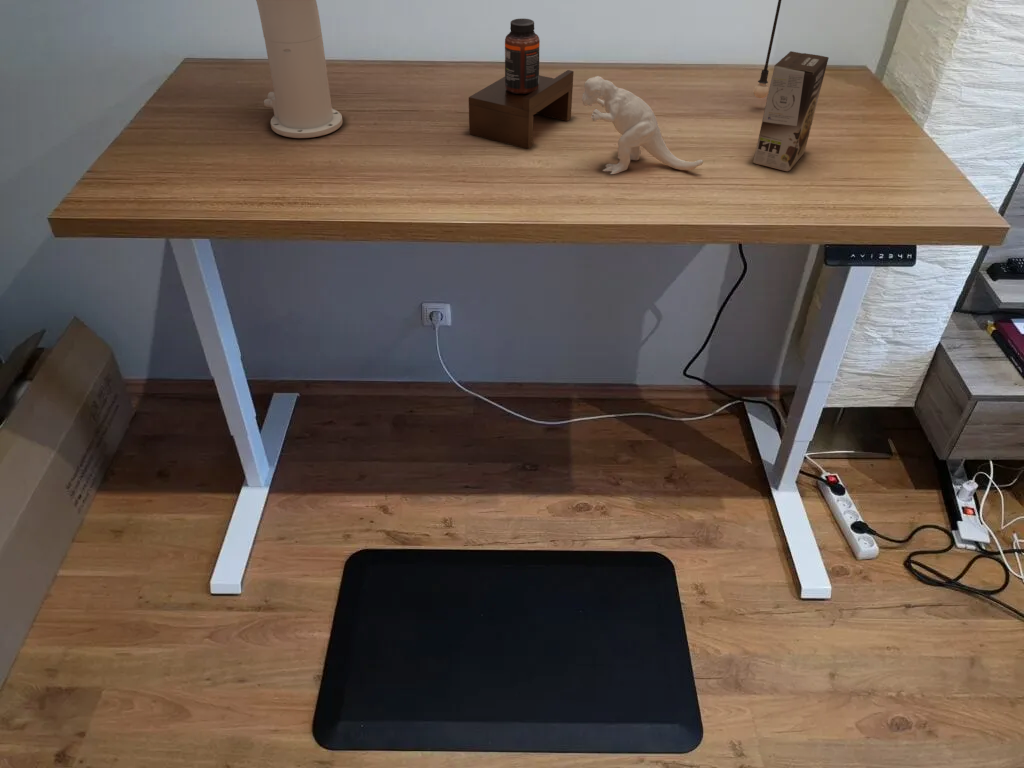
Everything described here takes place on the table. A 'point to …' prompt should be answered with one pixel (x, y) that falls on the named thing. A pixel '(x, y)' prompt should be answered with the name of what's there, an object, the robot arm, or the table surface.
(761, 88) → the light fixture
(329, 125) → the robot arm
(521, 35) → the supplement bottle
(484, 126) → the stand
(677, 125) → the table surface
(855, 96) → the table surface
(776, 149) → the coffee box
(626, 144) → the dinosaur figurine
